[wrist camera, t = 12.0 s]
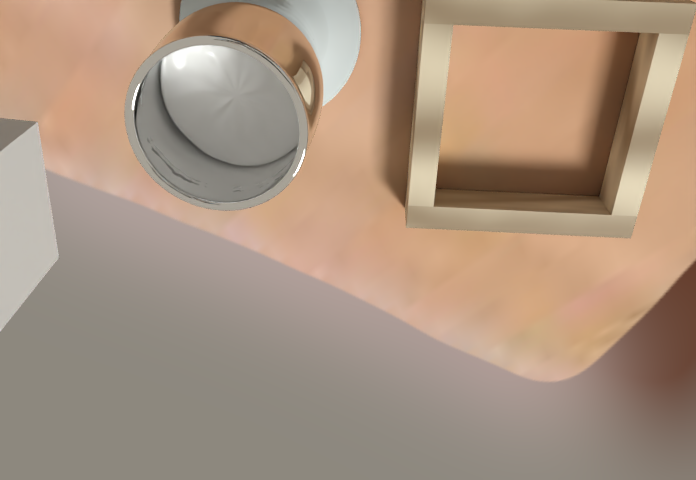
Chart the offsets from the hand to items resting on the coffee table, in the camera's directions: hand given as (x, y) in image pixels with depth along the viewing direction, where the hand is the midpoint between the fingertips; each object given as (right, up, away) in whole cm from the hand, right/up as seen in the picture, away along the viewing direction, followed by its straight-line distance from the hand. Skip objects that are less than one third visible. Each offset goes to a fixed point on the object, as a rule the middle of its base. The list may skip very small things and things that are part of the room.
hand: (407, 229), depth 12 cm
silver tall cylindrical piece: (-5, +11, +25) cm, 28 cm away
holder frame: (+10, +7, +27) cm, 29 cm away
